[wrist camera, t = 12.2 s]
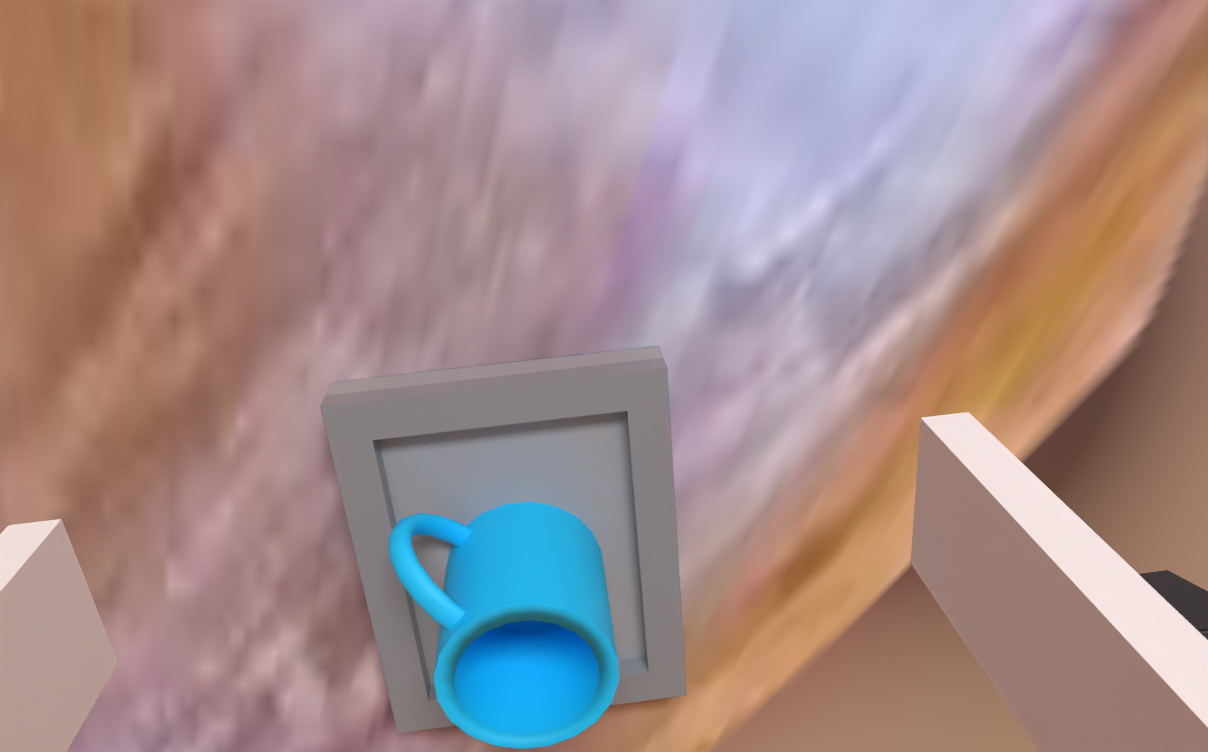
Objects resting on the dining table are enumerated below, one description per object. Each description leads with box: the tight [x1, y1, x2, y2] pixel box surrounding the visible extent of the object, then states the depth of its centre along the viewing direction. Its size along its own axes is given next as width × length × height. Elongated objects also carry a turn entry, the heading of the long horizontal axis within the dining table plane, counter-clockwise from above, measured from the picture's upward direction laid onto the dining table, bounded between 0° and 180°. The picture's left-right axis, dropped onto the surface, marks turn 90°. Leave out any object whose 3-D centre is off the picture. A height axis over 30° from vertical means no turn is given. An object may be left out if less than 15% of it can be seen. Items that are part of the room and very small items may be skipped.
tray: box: [320, 346, 686, 733], centre depth 47 cm, size 16×20×3 cm
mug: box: [388, 502, 619, 749], centre depth 43 cm, size 12×8×8 cm
